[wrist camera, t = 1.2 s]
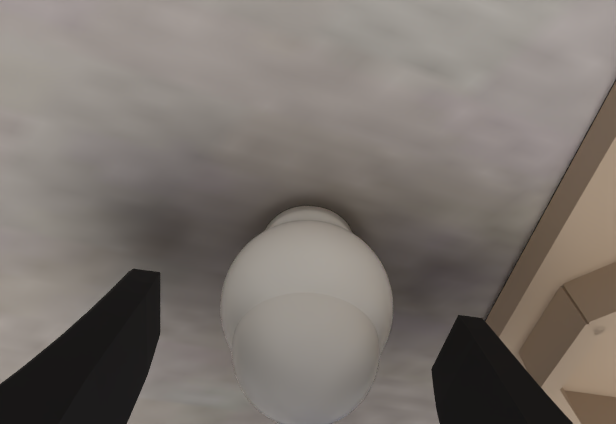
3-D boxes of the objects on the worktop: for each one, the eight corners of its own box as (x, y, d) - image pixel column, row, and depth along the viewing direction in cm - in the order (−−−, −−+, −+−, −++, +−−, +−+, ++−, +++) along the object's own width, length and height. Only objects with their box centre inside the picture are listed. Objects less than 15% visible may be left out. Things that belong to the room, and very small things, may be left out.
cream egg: (361, 306, 15) (381, 482, 10) (230, 287, 15) (189, 460, 10) (397, 195, 13) (445, 356, 8) (243, 169, 13) (198, 322, 8)
